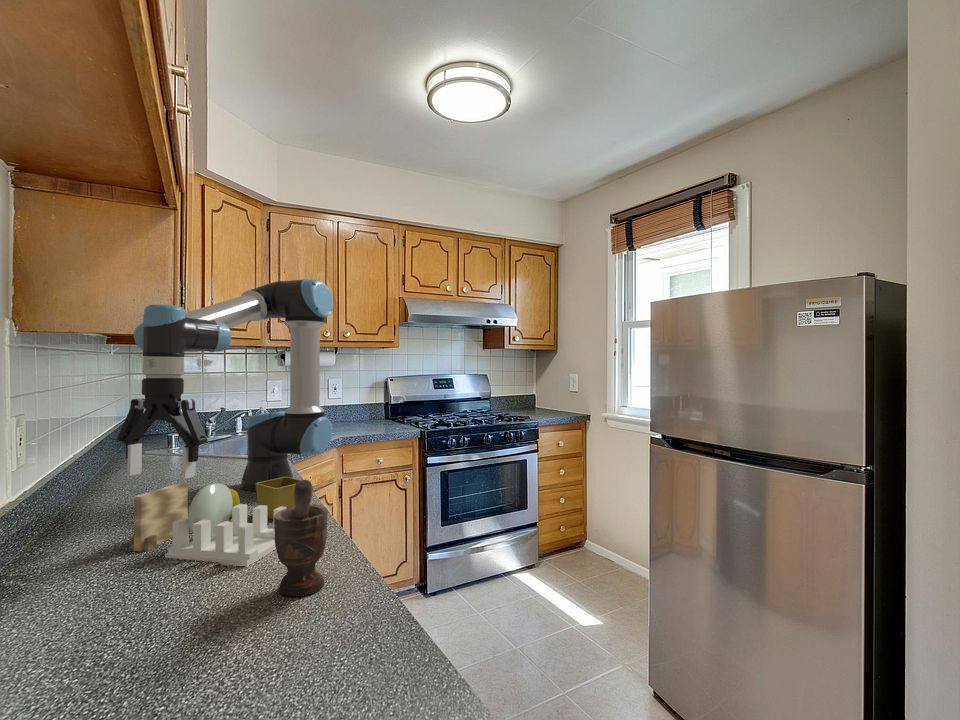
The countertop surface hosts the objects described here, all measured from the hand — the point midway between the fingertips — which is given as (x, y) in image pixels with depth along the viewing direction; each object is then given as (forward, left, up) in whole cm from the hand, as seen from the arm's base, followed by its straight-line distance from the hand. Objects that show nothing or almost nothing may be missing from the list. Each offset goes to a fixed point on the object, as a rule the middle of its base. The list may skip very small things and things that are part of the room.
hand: (161, 476), depth 101 cm
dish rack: (0, +17, -15) cm, 22 cm away
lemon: (-16, +3, -15) cm, 22 cm away
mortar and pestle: (+14, +42, -15) cm, 47 cm away
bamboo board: (0, 0, -14) cm, 14 cm away
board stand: (0, 0, -15) cm, 15 cm away
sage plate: (0, +12, -12) cm, 17 cm away
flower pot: (-20, +15, -15) cm, 29 cm away
